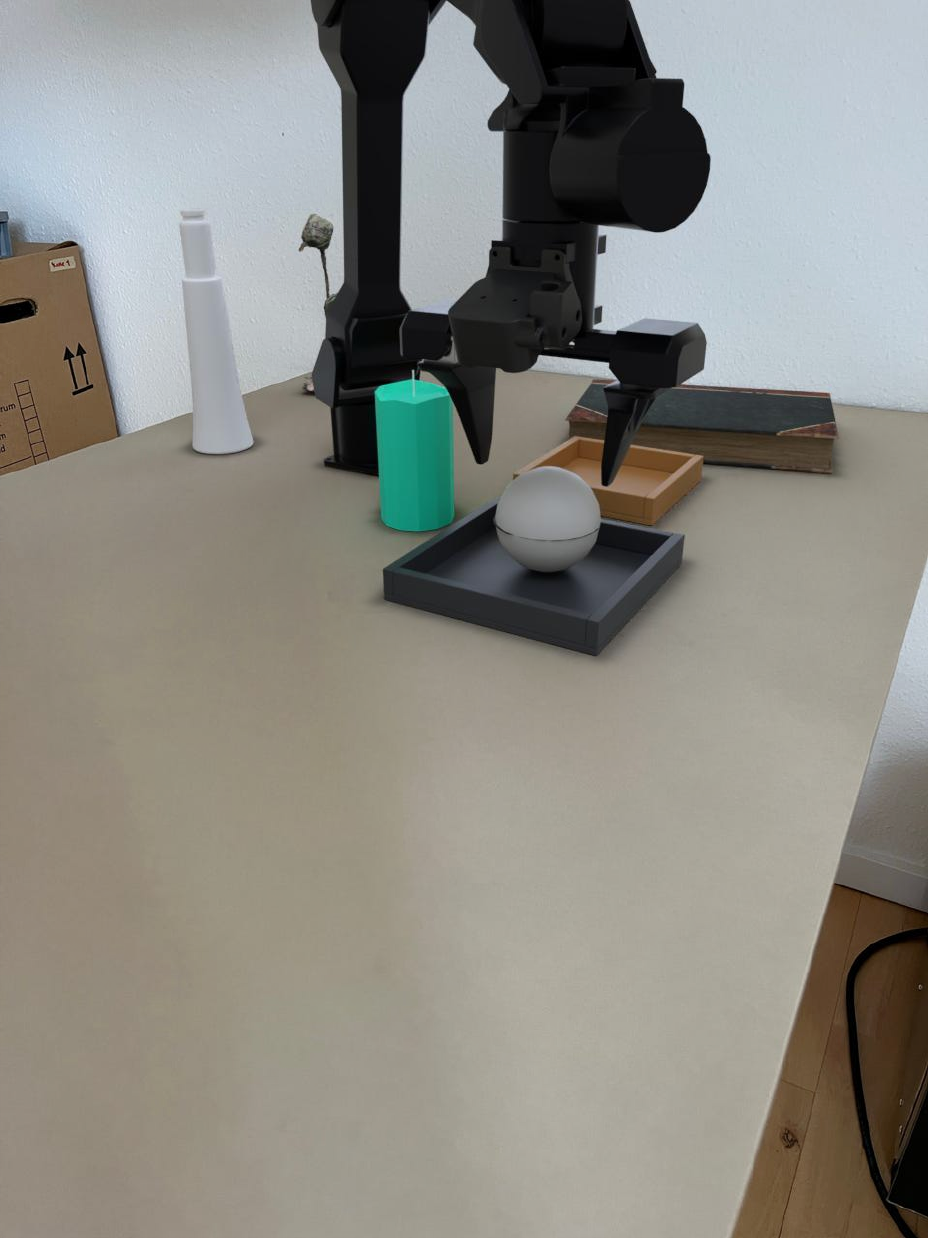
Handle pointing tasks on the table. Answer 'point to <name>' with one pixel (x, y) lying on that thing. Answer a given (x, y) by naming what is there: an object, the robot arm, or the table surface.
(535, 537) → the white sphere
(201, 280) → the cosmetic bottle
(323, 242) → the plant with pod
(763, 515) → the table surface
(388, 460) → the candle
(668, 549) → the dark tray
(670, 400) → the book
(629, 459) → the wood tray
